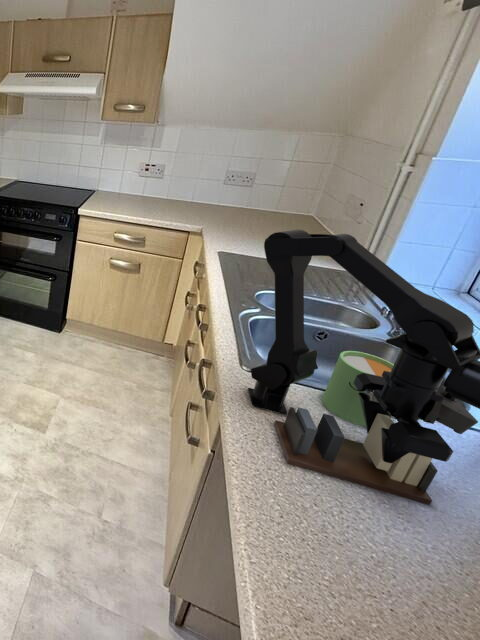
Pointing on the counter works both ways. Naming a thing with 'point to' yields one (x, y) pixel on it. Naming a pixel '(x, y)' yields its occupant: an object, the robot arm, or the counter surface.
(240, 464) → the counter surface
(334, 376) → the mug
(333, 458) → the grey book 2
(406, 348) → the robot arm
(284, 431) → the book rack
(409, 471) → the cream book
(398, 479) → the cream book
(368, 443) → the cream book
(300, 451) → the grey book
